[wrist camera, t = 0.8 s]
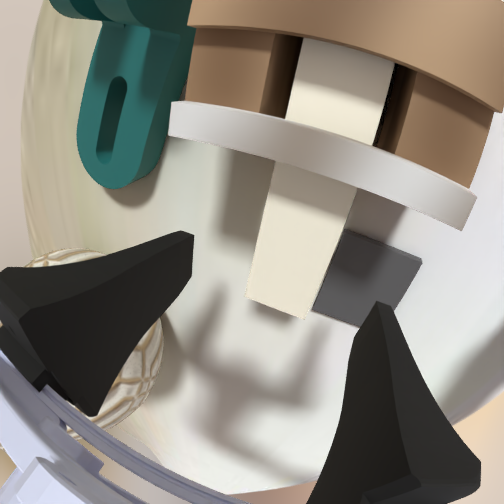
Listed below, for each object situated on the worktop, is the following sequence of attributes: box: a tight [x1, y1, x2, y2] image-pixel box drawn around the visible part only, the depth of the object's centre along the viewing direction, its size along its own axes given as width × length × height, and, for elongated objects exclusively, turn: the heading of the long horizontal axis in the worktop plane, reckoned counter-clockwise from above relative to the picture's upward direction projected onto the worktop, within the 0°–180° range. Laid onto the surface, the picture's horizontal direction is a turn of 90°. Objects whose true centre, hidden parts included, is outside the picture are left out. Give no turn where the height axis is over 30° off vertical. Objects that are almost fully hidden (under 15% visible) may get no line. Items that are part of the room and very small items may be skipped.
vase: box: [0, 248, 164, 454], centre depth 19 cm, size 16×16×20 cm
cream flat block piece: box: [244, 38, 395, 320], centre depth 12 cm, size 3×12×6 cm, turn 167°
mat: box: [312, 229, 422, 327], centre depth 17 cm, size 5×6×1 cm
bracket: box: [49, 0, 196, 189], centre depth 11 cm, size 18×7×8 cm, turn 153°
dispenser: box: [168, 0, 504, 231], centre depth 8 cm, size 10×8×7 cm
